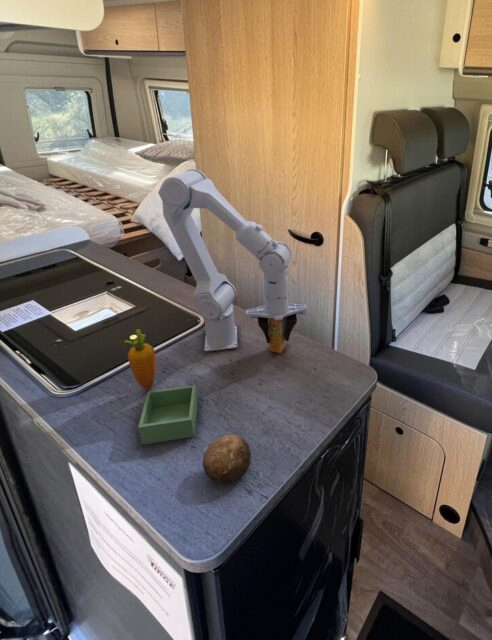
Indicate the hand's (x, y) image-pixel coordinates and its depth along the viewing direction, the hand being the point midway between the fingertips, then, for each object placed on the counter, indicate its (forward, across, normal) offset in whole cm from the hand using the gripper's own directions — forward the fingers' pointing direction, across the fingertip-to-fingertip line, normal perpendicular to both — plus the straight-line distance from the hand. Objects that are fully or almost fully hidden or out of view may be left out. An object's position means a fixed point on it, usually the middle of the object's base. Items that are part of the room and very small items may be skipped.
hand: (277, 339), depth 98 cm
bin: (+3, -23, -19) cm, 30 cm away
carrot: (+3, -29, -9) cm, 31 cm away
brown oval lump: (+3, -12, -32) cm, 34 cm away
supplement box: (+3, 0, 0) cm, 3 cm away
